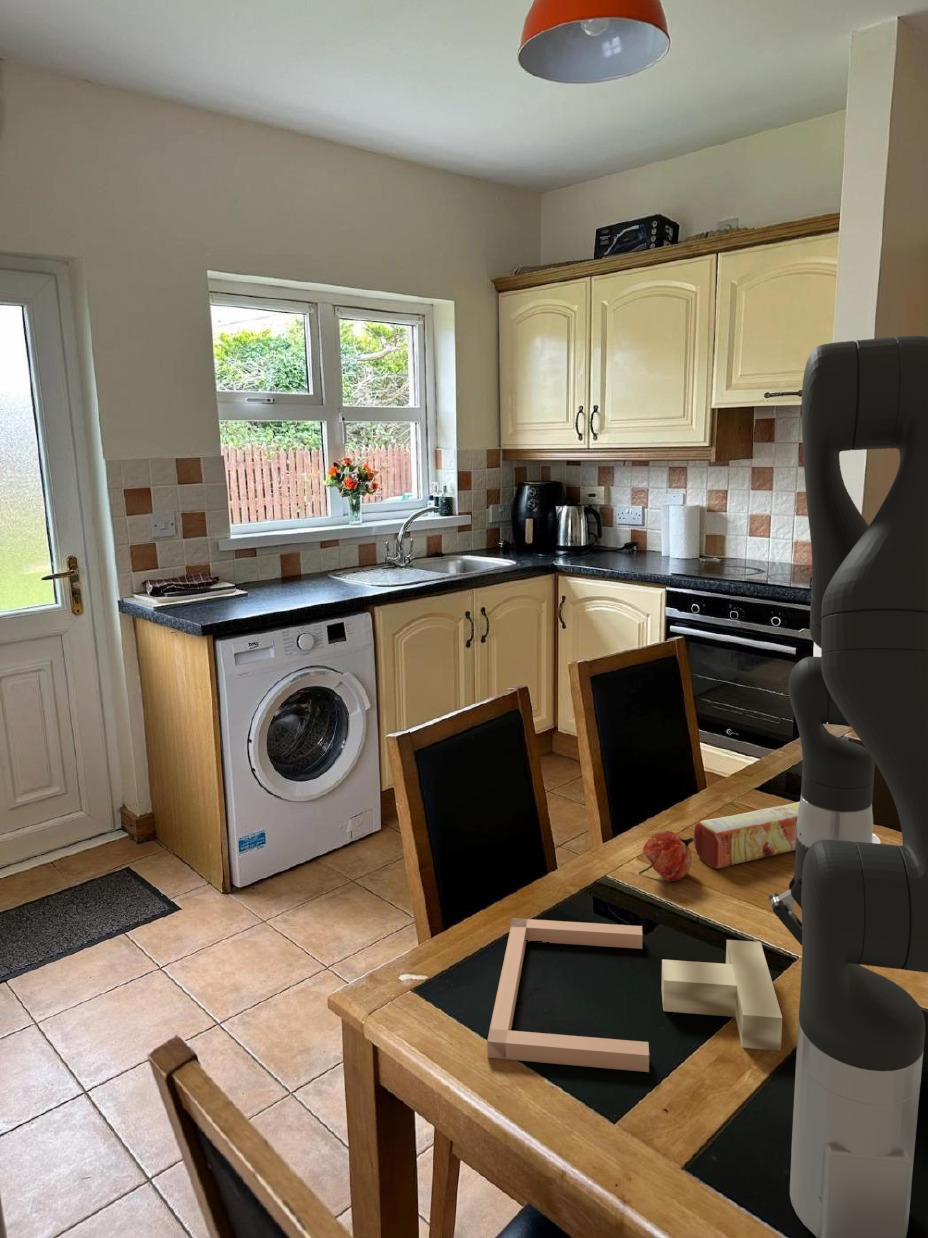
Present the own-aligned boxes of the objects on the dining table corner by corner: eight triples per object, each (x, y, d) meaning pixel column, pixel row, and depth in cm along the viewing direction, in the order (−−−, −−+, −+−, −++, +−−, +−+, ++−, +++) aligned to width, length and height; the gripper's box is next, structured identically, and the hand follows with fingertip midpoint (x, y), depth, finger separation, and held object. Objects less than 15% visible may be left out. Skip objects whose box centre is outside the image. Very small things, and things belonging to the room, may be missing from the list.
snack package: (801, 831, 141) (803, 793, 140) (830, 848, 135) (833, 808, 134) (690, 856, 134) (691, 816, 133) (716, 875, 128) (717, 834, 127)
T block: (759, 971, 105) (760, 942, 104) (780, 1050, 92) (782, 1018, 91) (659, 964, 107) (659, 935, 106) (665, 1041, 94) (666, 1009, 93)
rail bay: (649, 1072, 89) (649, 1055, 89) (487, 1057, 92) (487, 1041, 92) (641, 940, 112) (641, 926, 112) (513, 931, 115) (512, 918, 115)
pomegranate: (647, 903, 125) (705, 871, 122) (618, 859, 126) (674, 827, 123) (657, 883, 132) (711, 853, 128) (629, 842, 133) (682, 811, 129)
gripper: (776, 850, 90) (769, 993, 94) (910, 856, 88) (897, 1002, 92) (763, 818, 98) (758, 952, 102) (887, 822, 95) (877, 959, 99)
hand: (824, 976), depth 97 cm, fingers closed
